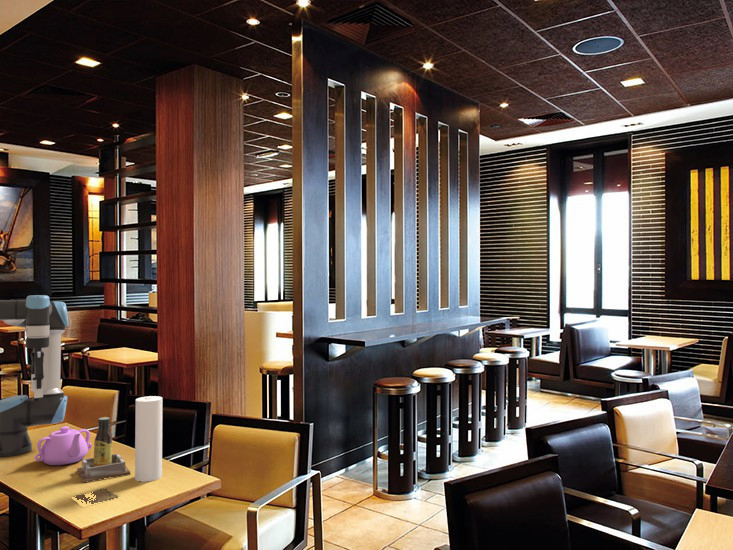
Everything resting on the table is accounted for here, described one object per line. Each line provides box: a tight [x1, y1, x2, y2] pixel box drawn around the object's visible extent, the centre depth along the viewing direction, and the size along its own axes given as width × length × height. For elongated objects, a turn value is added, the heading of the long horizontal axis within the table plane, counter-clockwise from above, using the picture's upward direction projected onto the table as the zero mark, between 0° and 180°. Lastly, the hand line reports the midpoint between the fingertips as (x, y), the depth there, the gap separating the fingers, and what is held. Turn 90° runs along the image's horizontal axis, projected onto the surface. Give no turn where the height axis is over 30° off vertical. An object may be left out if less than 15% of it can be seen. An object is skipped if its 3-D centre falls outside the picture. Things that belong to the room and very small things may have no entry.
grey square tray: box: [76, 453, 131, 483], centre depth 213 cm, size 16×16×4 cm
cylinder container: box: [134, 395, 163, 483], centre depth 208 cm, size 9×9×30 cm
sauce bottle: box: [93, 416, 113, 467], centre depth 213 cm, size 7×6×20 cm
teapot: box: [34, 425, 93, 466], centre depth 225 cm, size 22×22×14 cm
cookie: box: [72, 488, 120, 504], centre depth 188 cm, size 12×12×1 cm
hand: (37, 394), depth 205 cm, fingers open, 13 cm apart
